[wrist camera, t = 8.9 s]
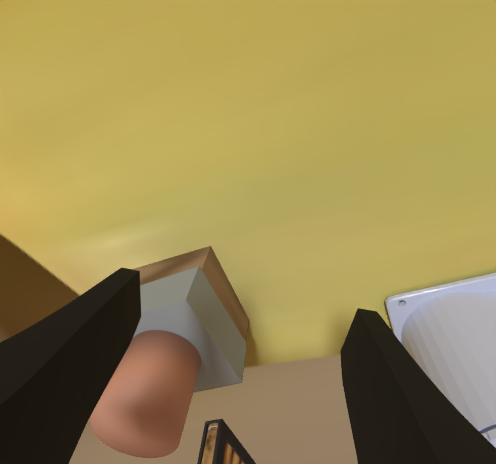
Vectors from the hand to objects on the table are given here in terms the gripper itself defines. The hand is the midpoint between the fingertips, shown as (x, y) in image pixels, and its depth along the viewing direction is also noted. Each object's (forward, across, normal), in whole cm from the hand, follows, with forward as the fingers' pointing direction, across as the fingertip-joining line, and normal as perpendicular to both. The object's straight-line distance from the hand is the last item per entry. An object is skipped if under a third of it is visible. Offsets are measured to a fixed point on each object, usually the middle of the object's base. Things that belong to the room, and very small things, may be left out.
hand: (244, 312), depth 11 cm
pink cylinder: (+5, +4, +9) cm, 11 cm away
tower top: (+8, +4, +9) cm, 13 cm away
